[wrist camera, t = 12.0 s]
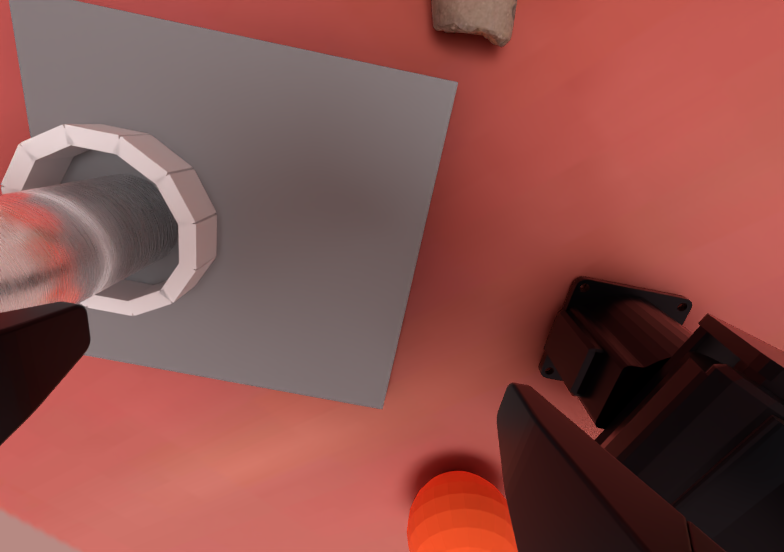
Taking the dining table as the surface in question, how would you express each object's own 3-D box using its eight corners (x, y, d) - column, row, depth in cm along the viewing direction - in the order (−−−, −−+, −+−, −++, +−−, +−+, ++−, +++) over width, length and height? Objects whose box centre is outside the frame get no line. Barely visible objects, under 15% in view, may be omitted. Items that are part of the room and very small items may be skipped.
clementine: (408, 526, 29) (408, 645, 22) (380, 461, 27) (371, 572, 20) (513, 508, 28) (545, 628, 21) (493, 438, 25) (523, 548, 19)
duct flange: (454, 85, 18) (464, 77, 14) (383, 393, 24) (380, 434, 21) (39, -3, 17) (-48, -33, 14) (85, 338, 24) (33, 372, 20)
